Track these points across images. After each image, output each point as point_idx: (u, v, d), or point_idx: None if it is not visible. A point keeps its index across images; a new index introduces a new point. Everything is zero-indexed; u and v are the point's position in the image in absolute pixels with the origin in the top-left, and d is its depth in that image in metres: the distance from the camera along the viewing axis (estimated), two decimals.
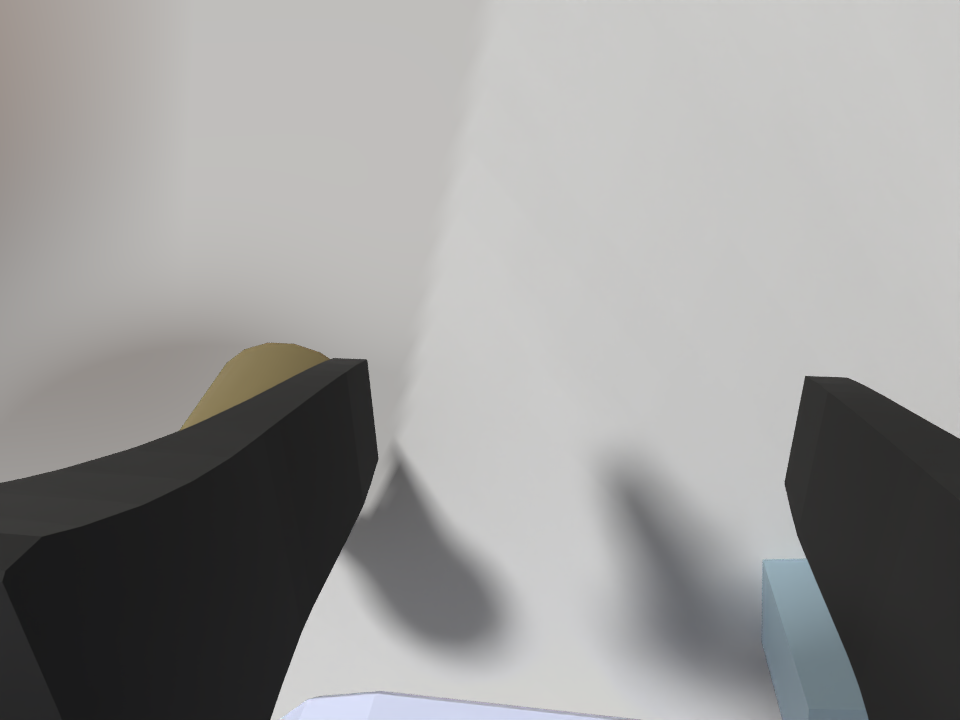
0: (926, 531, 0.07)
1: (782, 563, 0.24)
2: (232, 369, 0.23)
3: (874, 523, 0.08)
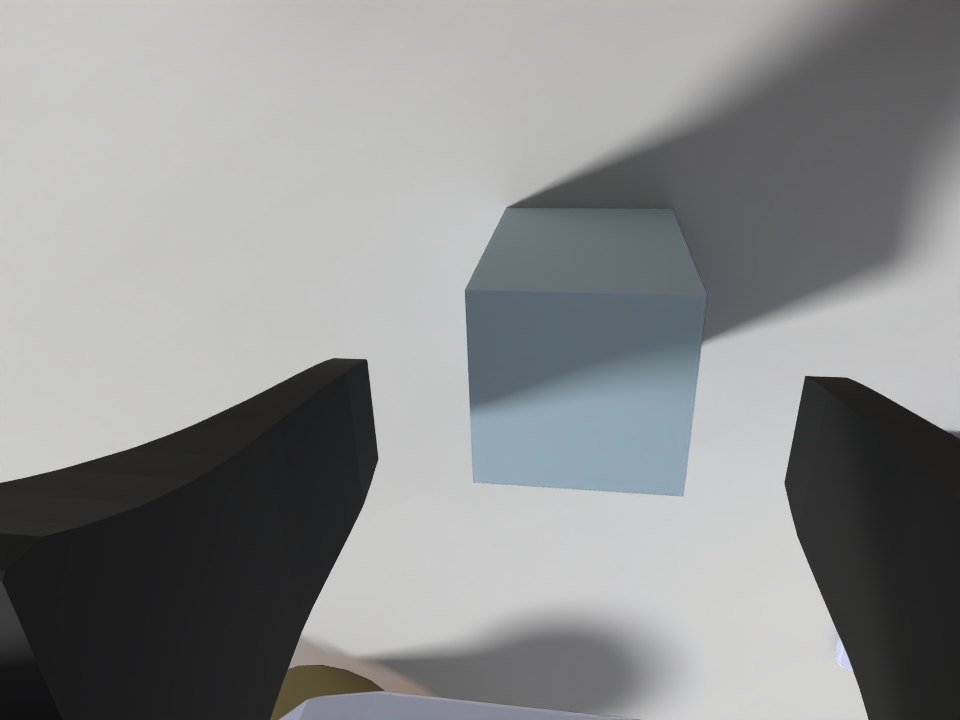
0: (926, 531, 0.07)
1: None
2: None
3: (874, 523, 0.08)
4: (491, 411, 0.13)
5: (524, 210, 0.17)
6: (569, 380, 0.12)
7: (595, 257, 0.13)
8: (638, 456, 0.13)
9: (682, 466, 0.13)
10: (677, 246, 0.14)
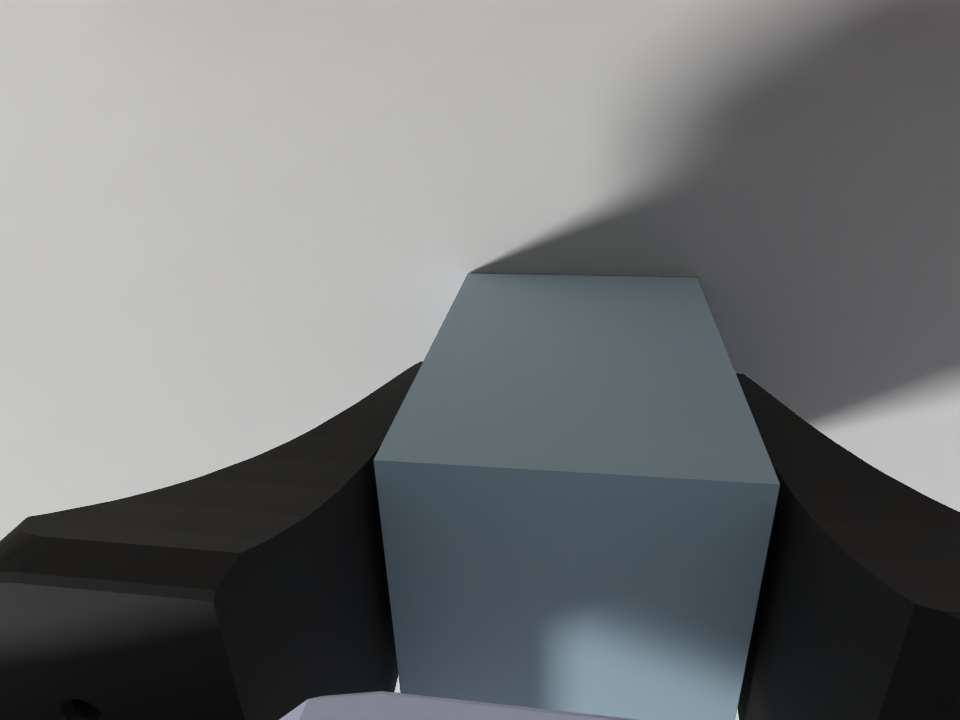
0: None
1: None
2: None
3: None
4: (427, 630, 0.08)
5: (492, 279, 0.12)
6: (548, 596, 0.08)
7: (589, 380, 0.09)
8: (658, 702, 0.08)
9: (727, 719, 0.08)
10: (713, 357, 0.09)
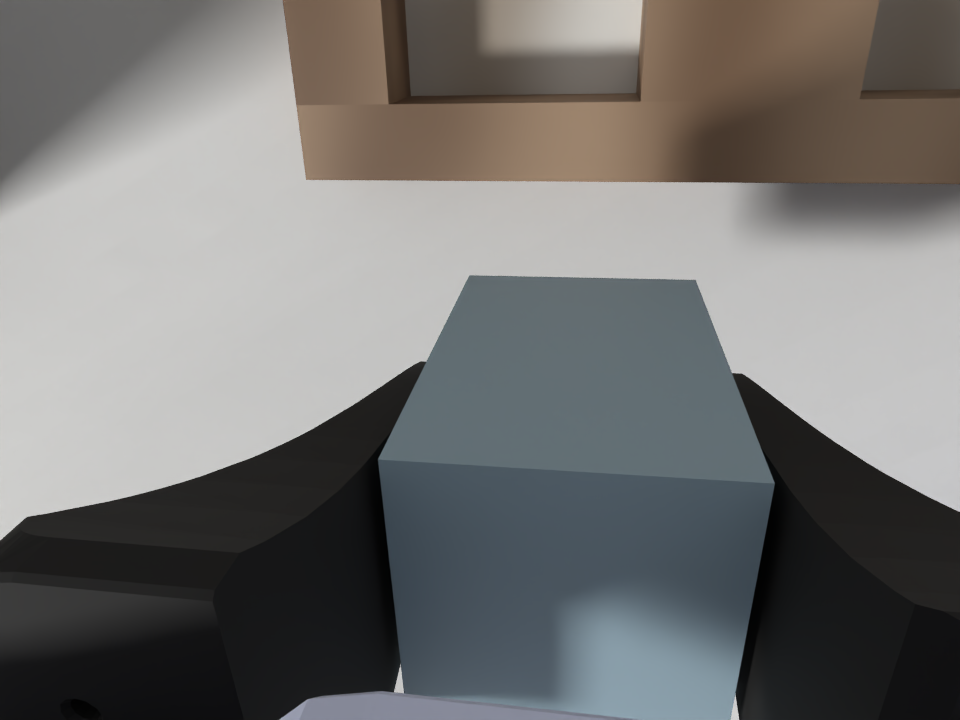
0: (771, 520, 0.07)
1: None
2: None
3: None
4: (429, 627, 0.08)
5: (493, 281, 0.12)
6: (548, 593, 0.08)
7: (589, 382, 0.09)
8: (656, 697, 0.08)
9: (724, 714, 0.08)
10: (711, 359, 0.09)
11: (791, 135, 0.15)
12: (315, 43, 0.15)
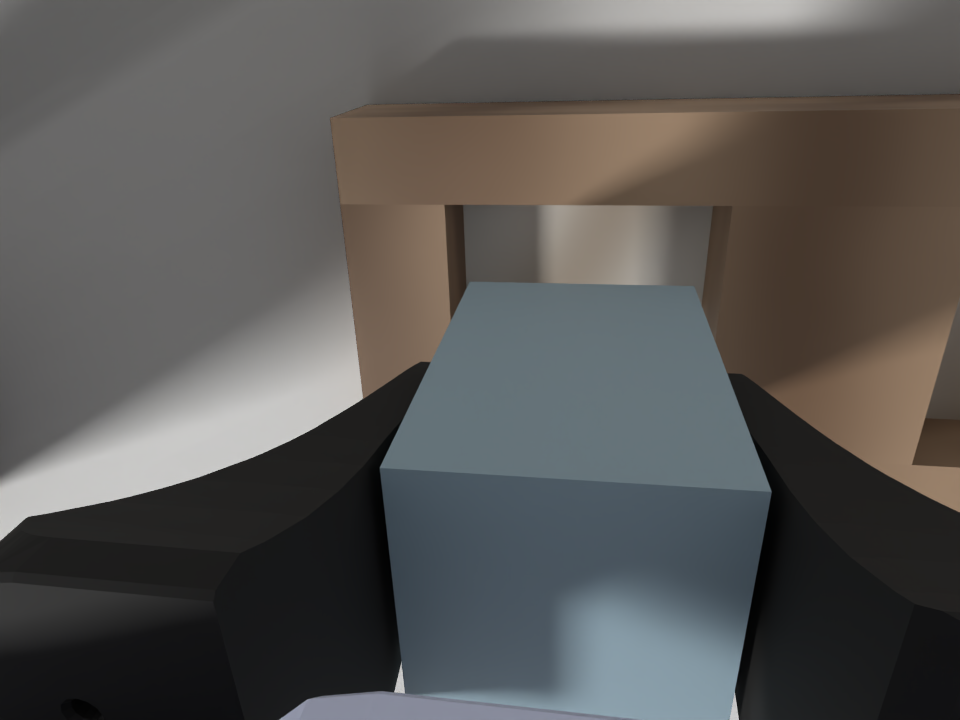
0: (771, 520, 0.07)
1: None
2: None
3: None
4: (431, 633, 0.08)
5: (493, 287, 0.12)
6: (547, 598, 0.08)
7: (588, 389, 0.09)
8: (655, 702, 0.08)
9: (722, 718, 0.08)
10: (709, 366, 0.09)
11: None
12: None
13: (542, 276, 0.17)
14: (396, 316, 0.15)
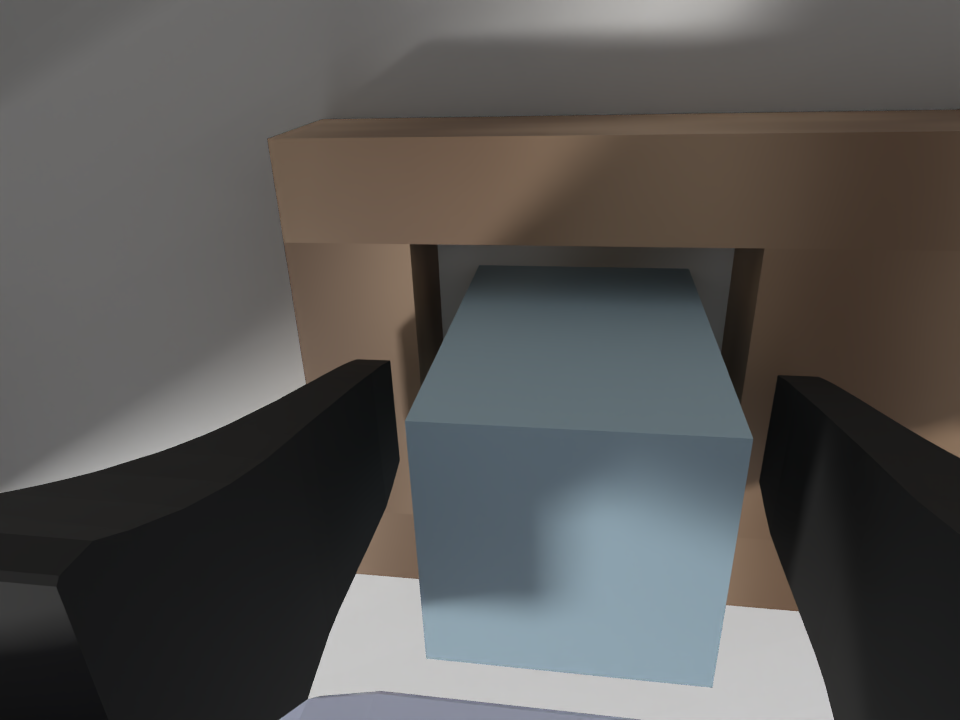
0: (884, 528, 0.07)
1: None
2: None
3: (839, 521, 0.08)
4: (447, 575, 0.09)
5: (501, 270, 0.13)
6: (555, 541, 0.09)
7: (590, 357, 0.10)
8: (651, 636, 0.09)
9: (711, 652, 0.09)
10: (701, 337, 0.10)
11: None
12: None
13: None
14: None
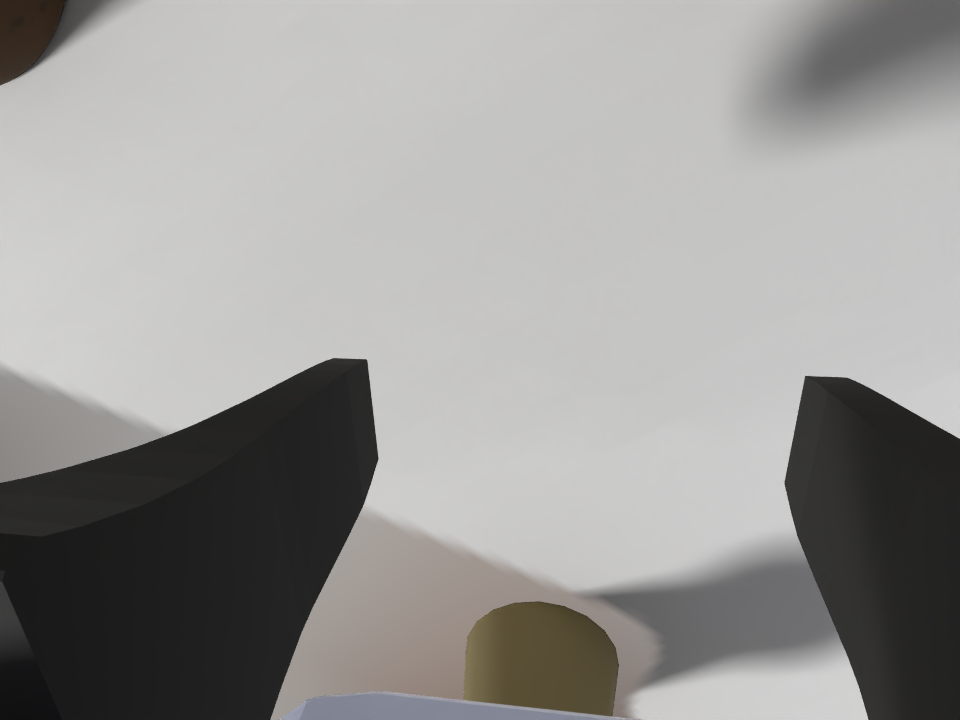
0: (926, 531, 0.07)
1: None
2: None
3: (874, 523, 0.08)
4: None
5: None
6: None
7: None
8: None
9: None
10: None
11: None
12: None
13: None
14: None
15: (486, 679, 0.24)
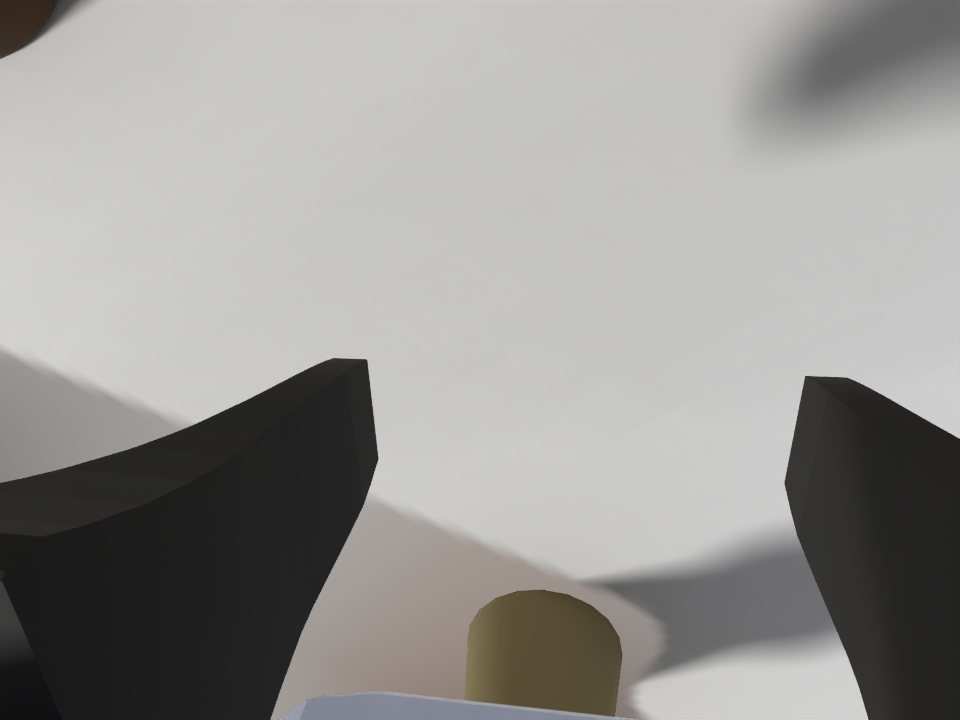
0: (926, 531, 0.07)
1: None
2: None
3: (874, 523, 0.08)
4: None
5: None
6: None
7: None
8: None
9: None
10: None
11: None
12: None
13: None
14: None
15: (489, 667, 0.24)
